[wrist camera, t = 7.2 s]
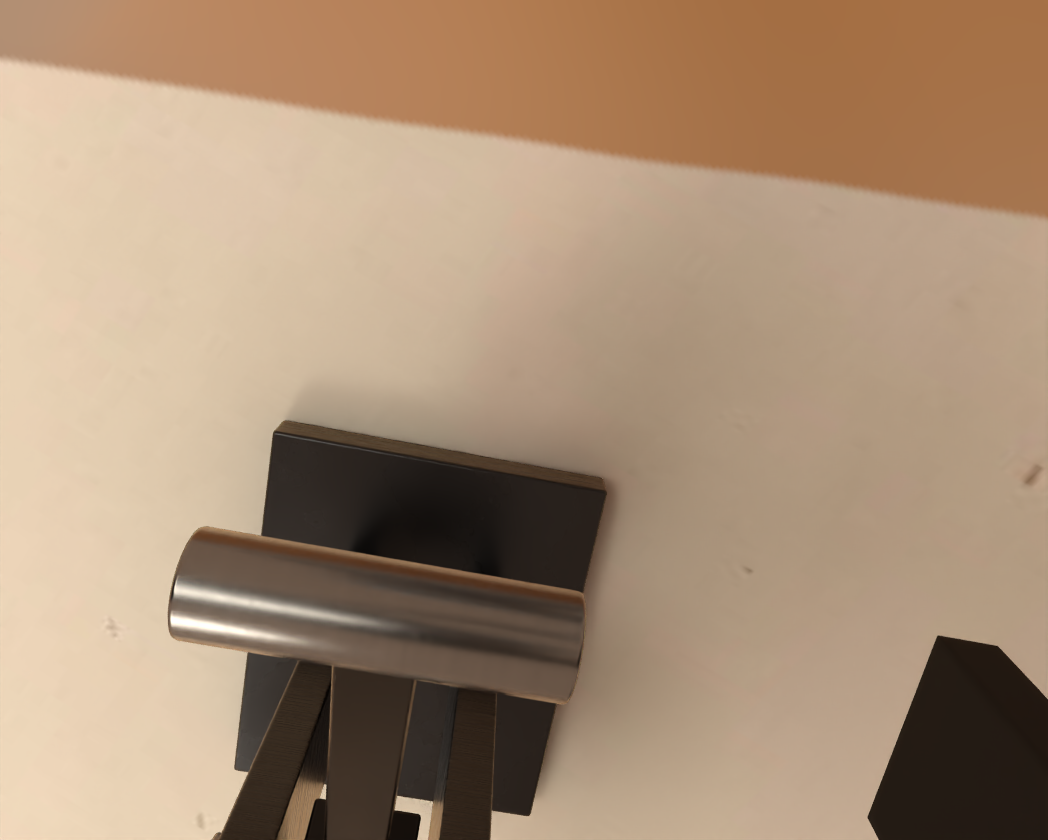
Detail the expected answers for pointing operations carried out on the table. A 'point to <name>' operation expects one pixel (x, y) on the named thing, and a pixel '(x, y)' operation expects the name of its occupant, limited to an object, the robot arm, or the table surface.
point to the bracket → (427, 538)
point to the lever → (375, 648)
